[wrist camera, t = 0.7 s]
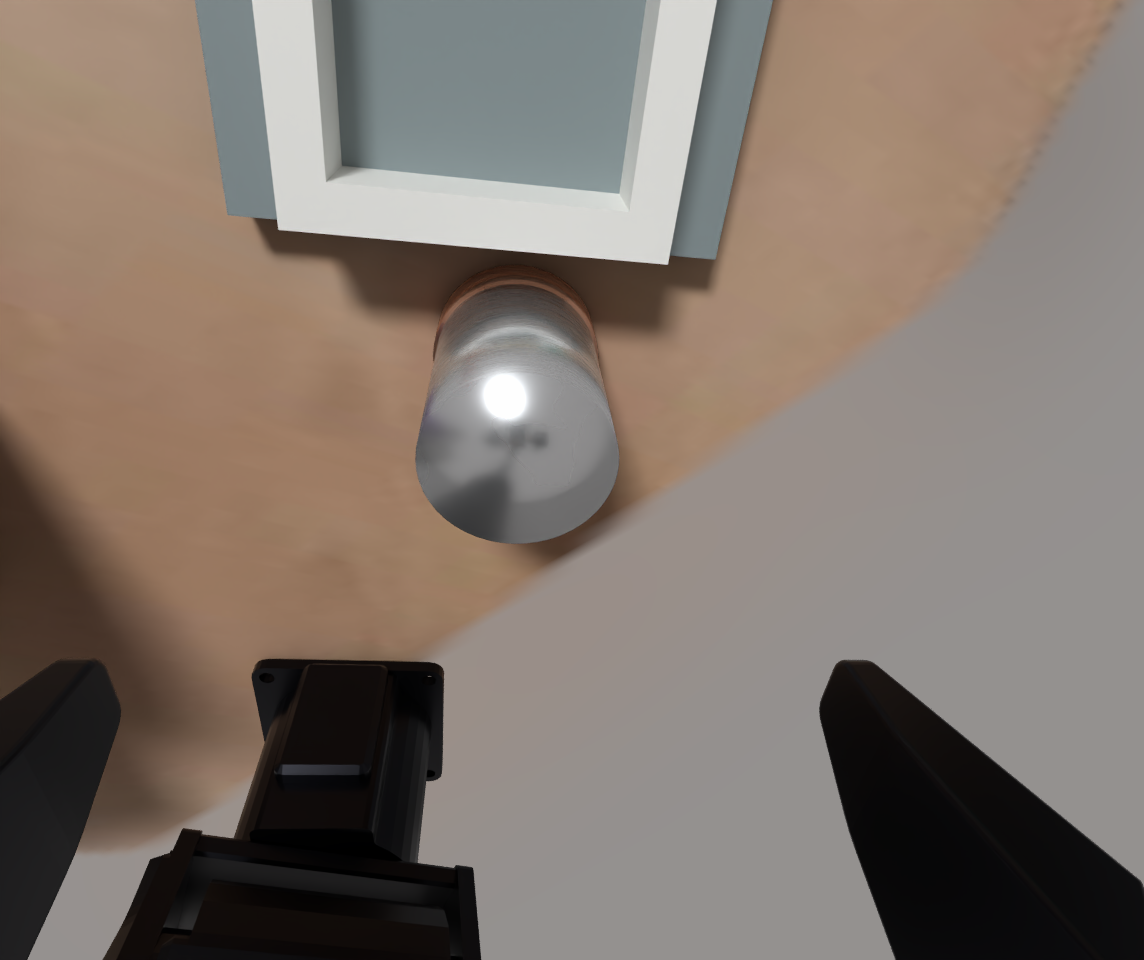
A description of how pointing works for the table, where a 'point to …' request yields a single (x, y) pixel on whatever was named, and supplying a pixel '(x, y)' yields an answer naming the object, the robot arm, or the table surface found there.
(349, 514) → the table surface
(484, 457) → the metal cylinder
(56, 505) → the table surface
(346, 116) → the grey double slot tray
